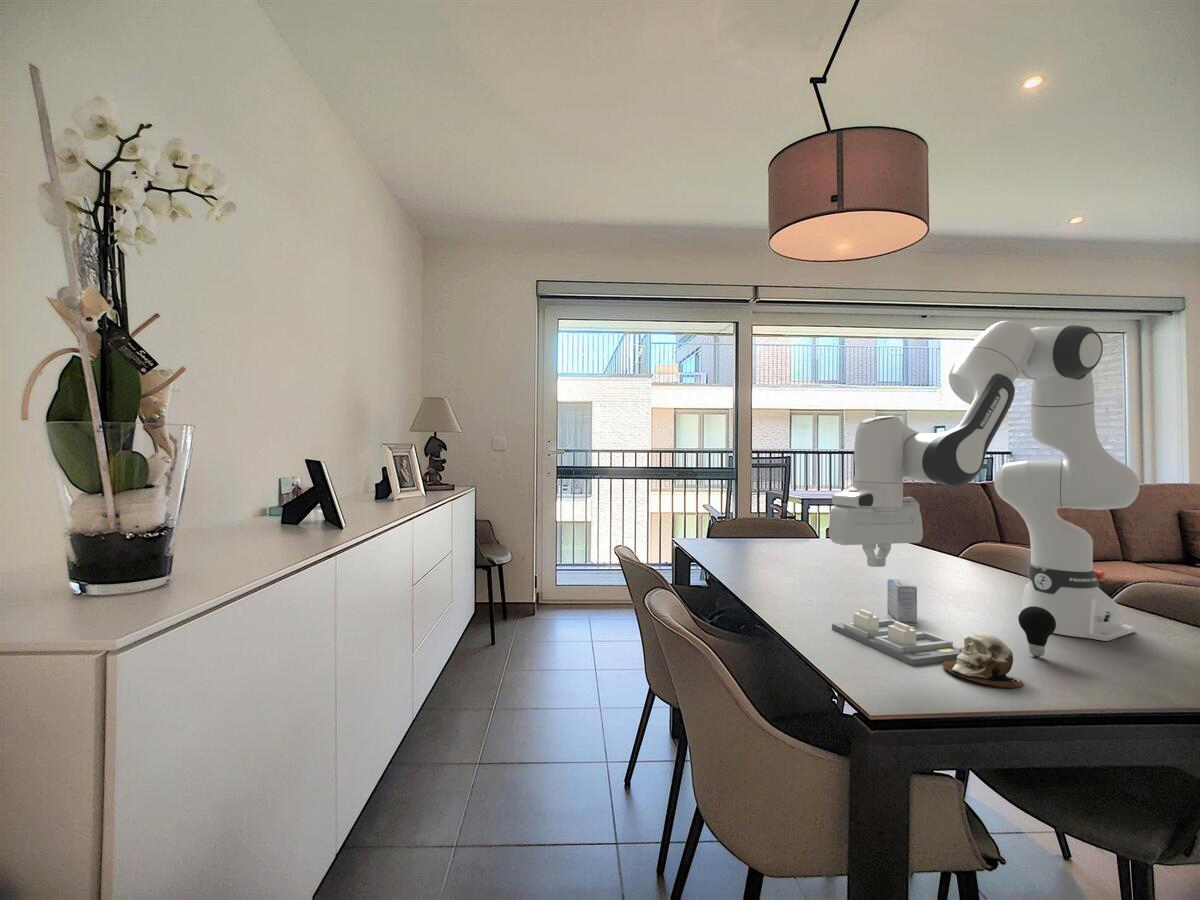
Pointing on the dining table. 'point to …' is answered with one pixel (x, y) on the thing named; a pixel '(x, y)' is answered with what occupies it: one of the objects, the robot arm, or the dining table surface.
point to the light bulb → (1037, 628)
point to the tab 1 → (865, 621)
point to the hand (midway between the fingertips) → (876, 566)
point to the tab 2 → (901, 634)
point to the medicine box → (902, 600)
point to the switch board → (915, 654)
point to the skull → (984, 661)
